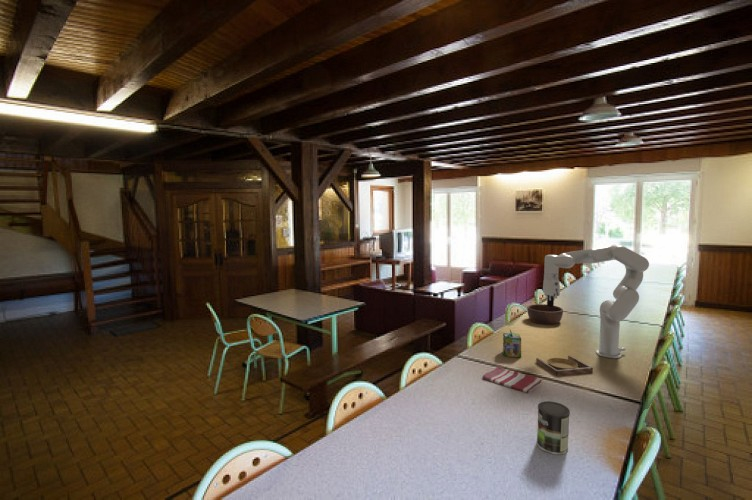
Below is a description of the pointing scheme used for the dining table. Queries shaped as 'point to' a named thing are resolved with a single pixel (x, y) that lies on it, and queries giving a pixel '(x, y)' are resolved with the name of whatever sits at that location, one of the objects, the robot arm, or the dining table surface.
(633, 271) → the robot arm
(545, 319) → the wooden bowl
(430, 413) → the dining table surface
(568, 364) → the plant saucer
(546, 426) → the coffee can
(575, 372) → the display frame
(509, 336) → the chalk box
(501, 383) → the dish towel
